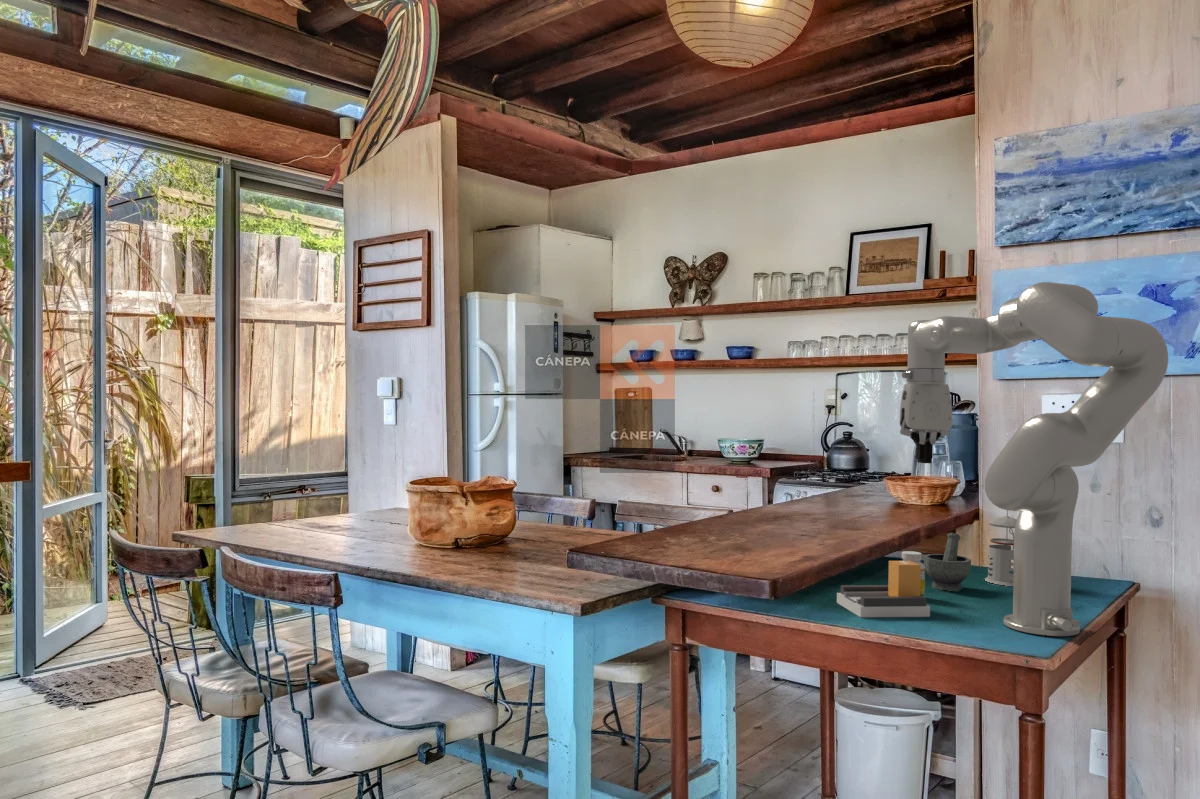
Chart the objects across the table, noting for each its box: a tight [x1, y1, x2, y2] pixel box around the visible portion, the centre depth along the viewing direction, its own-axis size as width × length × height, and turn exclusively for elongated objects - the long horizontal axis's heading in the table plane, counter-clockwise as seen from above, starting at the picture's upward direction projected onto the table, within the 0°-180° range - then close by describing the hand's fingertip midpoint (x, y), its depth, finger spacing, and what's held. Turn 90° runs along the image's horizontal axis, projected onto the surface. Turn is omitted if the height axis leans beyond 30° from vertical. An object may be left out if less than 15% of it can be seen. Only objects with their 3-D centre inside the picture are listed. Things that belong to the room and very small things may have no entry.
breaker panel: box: [836, 584, 931, 618], centre depth 172 cm, size 12×14×4 cm
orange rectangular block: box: [887, 560, 921, 596], centre depth 172 cm, size 4×4×7 cm
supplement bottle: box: [901, 550, 926, 598], centre depth 183 cm, size 5×5×10 cm
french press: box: [984, 510, 1017, 587], centre depth 201 cm, size 10×12×25 cm
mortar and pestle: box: [923, 532, 972, 592], centre depth 193 cm, size 11×9×12 cm
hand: (924, 462), depth 185 cm, fingers closed
